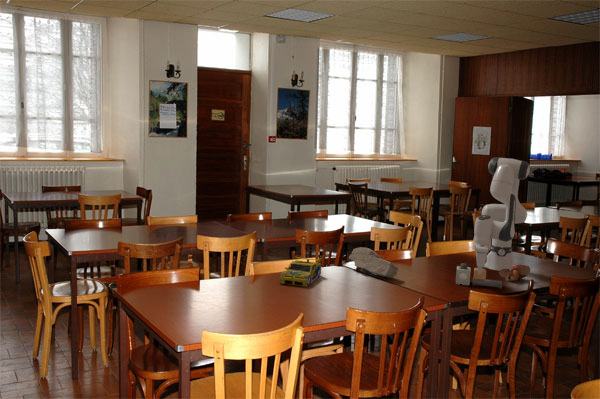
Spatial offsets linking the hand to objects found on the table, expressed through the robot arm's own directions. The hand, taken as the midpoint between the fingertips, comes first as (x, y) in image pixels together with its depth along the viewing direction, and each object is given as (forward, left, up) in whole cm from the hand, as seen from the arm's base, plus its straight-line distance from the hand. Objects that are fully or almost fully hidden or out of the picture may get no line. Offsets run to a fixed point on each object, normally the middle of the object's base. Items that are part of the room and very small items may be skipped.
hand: (479, 271), depth 313 cm
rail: (+1, +4, -7) cm, 8 cm away
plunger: (+1, -8, -2) cm, 8 cm away
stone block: (+2, -58, -7) cm, 58 cm away
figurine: (-19, +19, -8) cm, 28 cm away
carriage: (+1, 0, -6) cm, 6 cm away
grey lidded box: (+1, -8, -7) cm, 11 cm away
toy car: (+31, -90, -8) cm, 95 cm away
